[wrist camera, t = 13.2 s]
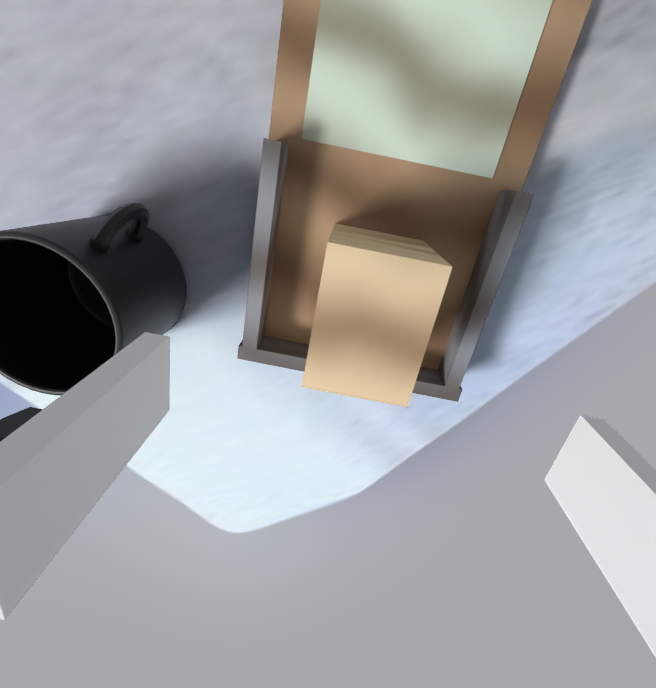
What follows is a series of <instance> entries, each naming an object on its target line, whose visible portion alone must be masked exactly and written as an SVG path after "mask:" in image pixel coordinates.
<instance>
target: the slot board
mask: <svg viewBox="0 0 656 688" xmlns="http://www.w3.org/2000/svg"><path fill="white" fill-rule="evenodd" d="M591 2H592V0H284V4H283V13H282V22H281V31H280V41H279V50H278V59H277V68H276V78H275V87H274V96H273V105H272V115H271V124H270V133H269V139H265V138H264V141H263V150H262V160H261V170H260V179H259V189H258V199H257V209H256V218H255V228H254V238H253V247H252V257H251V267H250V276H249V286H248V296H247V305H246V315H245V325H244V335H243V340H242V342H241V343H240V345H239V348H238V359H243V360H248V361H253V362H259V363H264V364H269V365H274V366H279V367H284V368H289V369H294V370H299V371H305V366H306V360H307V355H308V349H309V343H310V338H311V332H312V327H313V321H314V315H315V310H316V304H317V299H318V293H319V287H320V282H321V276H322V271H323V265H324V259H325V254H326V248H327V242H328V240H329V237H330V235H331V232H332V230H333V228H334V225H335V223H336V224H341V225H346V226H351V227H356V228H361V229H366V230H371V231H377V232H382V233H387V234H392V235H397V236H402V237H407V238H412V239H417V240H422V241H424V242H426V243H427V244H428V245H429V246H430V247H431V248H432V249H433V250H434V251H436V252H437V253H438V254H439V255H440V256H441V257H442V258H443V259H444V260H446V261H447V262H448V263H449V264H450V265H451V266H452V270H451V273H450V276H449V279H448V283H447V286H446V289H445V292H444V295H443V298H442V301H441V304H440V307H439V311H438V314H437V317H436V320H435V323H434V326H433V329H432V332H431V335H430V339H429V342H428V345H427V348H426V351H425V354H424V357H423V360H422V363H421V367H420V370H419V373H418V376H417V379H416V382H415V385H414V388H413V391H412V393H416V394H422V395H427V396H432V397H437V398H442V399H447V400H452V401H457V402H458V400H459V397H460V394H461V392H462V388H461V386H460V385H461V382H462V380H463V377H464V374H465V372H466V369H467V367H468V364H469V362H470V359H471V356H472V354H473V351H474V349H475V346H476V343H477V341H478V338H479V336H480V333H481V330H482V328H483V325H484V323H485V320H486V317H487V315H488V312H489V310H490V307H491V304H492V302H493V299H494V297H495V294H496V291H497V289H498V286H499V284H500V281H501V279H502V276H503V273H504V271H505V268H506V266H507V263H508V260H509V258H510V255H511V253H512V250H513V247H514V245H515V242H516V240H517V237H518V234H519V232H520V229H521V227H522V224H523V221H524V219H525V216H526V214H527V211H528V209H529V206H530V203H531V201H532V198H533V196H534V194H530V193H525V192H521V191H522V188H523V185H524V182H525V180H526V177H527V174H528V172H529V169H530V166H531V164H532V161H533V158H534V156H535V153H536V150H537V147H538V145H539V142H540V139H541V137H542V134H543V131H544V129H545V126H546V123H547V121H548V118H549V115H550V112H551V110H552V107H553V104H554V102H555V99H556V96H557V94H558V91H559V88H560V85H561V83H562V80H563V77H564V75H565V72H566V69H567V67H568V64H569V61H570V59H571V56H572V53H573V50H574V48H575V45H576V42H577V40H578V37H579V34H580V32H581V29H582V26H583V24H584V21H585V18H586V15H587V13H588V10H589V7H590V5H591Z"/></svg>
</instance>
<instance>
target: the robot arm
mask: <svg viewBox="0 0 656 688" xmlns="http://www.w3.org/2000/svg"><path fill="white" fill-rule="evenodd" d="M169 375H170V337H168V336H163V335H158V334H152V333H147V332H145V333H143V334H142V335H141V336H139V337H138V338H137V339H136V340H134V341H133V342H132V343H130V344H129V345H128V346H126V347H125V348H124V349H122V350H121V351H120V352H118V353H117V354H116V355H114V356H113V357H112V358H110V359H109V360H108V361H106V362H105V363H104V364H102V365H101V366H100V367H98V368H97V369H96V370H95V371H93V372H92V373H91V374H89V375H88V376H87V377H85V378H84V379H83V380H81V381H80V382H79V383H77V384H76V385H75V386H73V387H72V388H71V389H69V390H68V391H67V392H65V393H64V394H63V395H61V396H60V397H59V398H58V399H56V400H55V401H54V402H52V403H51V404H50V405H48V406H47V407H46V408H44V409H38V408H32V407H29V408H27V409H24V410H22V411H19V412H17V413H14V414H12V415H10V416H7V417H5V418H3V419H1V420H0V619H1V620H5V619H6V618H7V616H8V615H9V614H10V613H11V612H12V610H13V609H14V608H15V607H16V605H17V604H18V603H19V601H20V600H21V599H22V598H23V596H24V595H25V594H26V592H27V591H28V590H29V589H30V587H31V586H32V585H33V584H34V582H35V581H36V580H37V578H38V577H39V576H40V574H41V573H42V572H43V571H44V569H45V568H46V567H47V566H48V564H49V563H50V562H51V561H52V559H53V558H54V557H55V555H56V554H57V553H58V551H59V550H60V549H61V548H62V546H63V545H64V544H65V543H66V541H67V540H68V539H69V538H70V536H71V535H72V534H73V532H74V531H75V530H76V529H77V527H78V526H79V525H80V523H81V522H82V521H83V520H84V518H85V517H86V516H87V514H88V513H89V512H90V511H91V509H92V508H93V507H94V506H95V504H96V503H97V502H98V500H99V499H100V498H101V496H102V495H103V494H104V493H105V491H106V490H107V489H108V488H109V486H110V485H111V484H112V483H113V481H114V480H115V478H116V477H117V476H118V475H119V474H120V472H121V471H122V470H123V468H124V467H125V466H126V465H127V463H128V462H129V461H130V460H131V458H132V457H133V456H134V454H135V453H136V452H137V451H138V449H139V448H140V447H141V445H142V444H143V443H144V442H145V440H146V439H147V438H148V436H149V435H150V434H151V433H152V431H153V430H154V429H155V428H156V426H157V425H158V424H159V422H160V421H161V420H162V419H163V417H164V416H165V415H166V413H167V412H168V411H169ZM545 482H546V483H547V485H548V486H549V488H550V490H551V491H552V493H553V495H554V496H555V498H556V499H557V501H558V502H559V504H560V506H561V507H562V509H563V510H564V512H565V514H566V515H567V517H568V518H569V520H570V522H571V523H572V525H573V526H574V528H575V530H576V531H577V533H578V534H579V536H580V538H581V539H582V541H583V542H584V544H585V546H586V547H587V549H588V550H589V552H590V554H591V555H592V557H593V558H594V560H595V561H596V563H597V565H598V566H599V568H600V569H601V571H602V573H603V574H604V576H605V577H606V579H607V581H608V582H609V584H610V585H611V587H612V589H613V590H614V591H615V593H616V595H617V597H618V598H619V600H620V601H621V603H622V605H623V606H624V608H625V609H626V611H627V612H628V614H629V616H630V617H631V619H632V620H633V622H634V624H635V625H636V627H637V628H638V630H639V632H640V633H641V635H642V636H643V638H644V639H645V641H646V643H647V644H648V646H649V648H650V649H651V651H652V652H653V654H654V655H655V657H656V470H655V469H654V468H653V467H652V466H651V465H650V464H649V463H648V462H647V461H646V460H645V459H644V458H643V457H642V456H641V455H640V454H639V453H638V452H637V451H636V450H635V449H634V448H633V447H632V446H631V445H629V443H628V442H627V441H626V440H625V439H624V438H623V437H622V436H620V435H619V434H618V433H617V432H616V431H615V430H614V429H613V428H612V427H611V426H610V425H609V424H608V423H607V422H606V421H605V420H604V419H599V418H594V417H588V416H583V415H580V417H579V419H578V420H577V422H576V424H575V426H574V428H573V430H572V431H571V433H570V435H569V437H568V438H567V440H566V442H565V444H564V445H563V447H562V449H561V451H560V453H559V454H558V456H557V458H556V460H555V462H554V463H553V465H552V467H551V469H550V471H549V472H548V474H547V476H546V478H545Z"/></svg>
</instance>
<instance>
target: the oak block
mask: <svg viewBox="0 0 656 688" xmlns="http://www.w3.org/2000/svg"><path fill="white" fill-rule="evenodd" d="M451 270H452V266H451V265H450V264H449V263H448V262H447V261H446V260H444V259H443V258H442V257H441V256H440V255H439V254H438V253H437V252H436V251H434V250H433V249H432V248H431V247H430V246H429V245H428V244H427V243H426V242H424V241H422V240H417V239H412V238H407V237H402V236H397V235H392V234H387V233H382V232H377V231H371V230H366V229H361V228H356V227H351V226H346V225H341V224H336V223H335V225H334V228H333V230H332V232H331V235H330V237H329V240H328V242H327V248H326V254H325V259H324V265H323V271H322V276H321V282H320V287H319V293H318V299H317V304H316V310H315V315H314V321H313V327H312V332H311V338H310V343H309V349H308V355H307V360H306V366H305V371H304V377H303V383H302V387H304V388H310V389H315V390H320V391H325V392H331V393H336V394H341V395H346V396H351V397H357V398H362V399H367V400H372V401H378V402H383V403H388V404H393V405H399V406H404V407H408V404H409V401H410V398H411V395H412V391H413V388H414V385H415V382H416V379H417V376H418V373H419V370H420V367H421V363H422V360H423V357H424V354H425V351H426V348H427V345H428V342H429V339H430V335H431V332H432V329H433V326H434V323H435V320H436V317H437V314H438V311H439V307H440V304H441V301H442V298H443V295H444V292H445V289H446V286H447V283H448V279H449V276H450V273H451Z"/></svg>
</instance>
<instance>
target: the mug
mask: <svg viewBox="0 0 656 688" xmlns="http://www.w3.org/2000/svg"><path fill="white" fill-rule="evenodd" d="M132 219H134V220H132ZM148 220H149V212H148V210H147V209H146V208H145V207H144V206H143V205H142V204H139V203H133V204H127V205H124V206H122V207H120V208H119V209H117V210H116V211H114V212H113V213H112V214H111V215H106V216H97V217H90V218H83V219H77V220H70V221H63V222H57V223H50V224H43V225H37V226H30V227H23V228H17V229H10V230H3V231H0V374H1V375H3V376H4V377H6V378H7V379H9V380H11V381H13V382H15V383H17V384H19V385H21V386H23V387H26V388H28V389H31V390H34V391H37V392H41V393H45V394H51V395H63V394H64V393H65V392H67V391H68V390H69V389H71V388H72V387H73V386H75V385H76V384H77V383H79V382H80V381H81V380H83V379H84V378H85V377H87V376H88V375H89V374H91V373H92V372H93V371H95V370H96V369H97V368H98V367H100V366H101V365H102V364H104V363H105V362H106V361H108V360H109V359H110V358H112V357H113V356H114V355H116V354H117V353H118V352H120V351H121V350H122V349H124V348H125V347H126V346H128V345H129V344H130V343H132V342H133V341H134V340H136V339H137V338H138V337H139V336H141V335H142V334H143V333H145V332H147V333H152V334H158V335H163V334H164V333H165V332H167V331H168V330H169V329H170V328H171V327H172V326H173V325H174V324H175V323H176V322H177V321H178V319H179V317H180V316H181V314H182V311H183V308H184V305H185V299H186V283H185V278H184V274H183V271H182V268H181V265H180V263H179V261H178V259H177V257H176V255H175V254H174V252H173V251H172V250H171V248H170V247H169V246H168V245H167V243H166V242H165V241H164V240H163V239H162V238H161V237H160V236H158V235H157V234H156V233H155V232H154V231H152V230H151V229H149V228H147V224H148Z"/></svg>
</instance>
